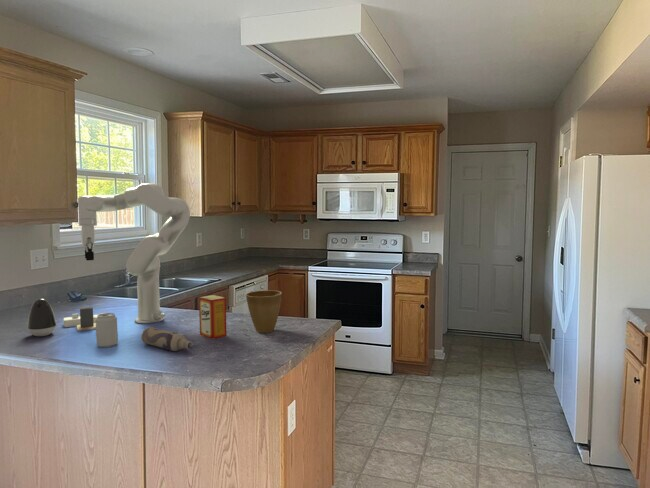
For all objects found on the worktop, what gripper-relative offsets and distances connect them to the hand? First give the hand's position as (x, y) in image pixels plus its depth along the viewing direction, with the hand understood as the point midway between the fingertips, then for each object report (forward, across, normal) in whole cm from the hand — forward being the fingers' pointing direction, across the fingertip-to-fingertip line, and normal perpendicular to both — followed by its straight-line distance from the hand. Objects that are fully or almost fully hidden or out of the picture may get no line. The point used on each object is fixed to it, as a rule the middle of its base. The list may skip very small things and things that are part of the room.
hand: (89, 259), depth 231 cm
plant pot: (+28, +62, +63) cm, 92 cm away
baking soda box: (+28, +58, +42) cm, 77 cm away
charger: (+27, +18, -3) cm, 33 cm away
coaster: (+28, +18, -3) cm, 34 cm away
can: (+28, +52, +3) cm, 59 cm away
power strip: (+28, +9, -3) cm, 30 cm away
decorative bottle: (+28, +68, +22) cm, 77 cm away
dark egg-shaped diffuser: (+28, +22, -20) cm, 41 cm away
